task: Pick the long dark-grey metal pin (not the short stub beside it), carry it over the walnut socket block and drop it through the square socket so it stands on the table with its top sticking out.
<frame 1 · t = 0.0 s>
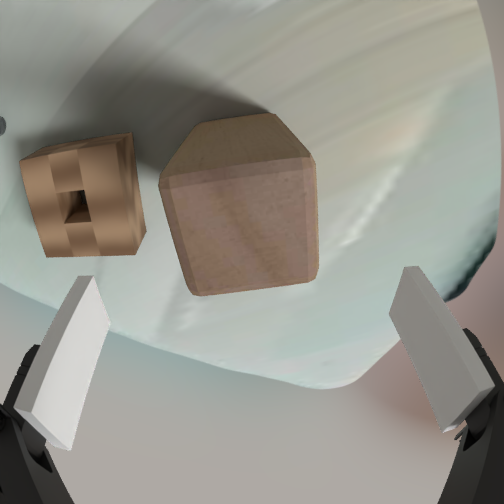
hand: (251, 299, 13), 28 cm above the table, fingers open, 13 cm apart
socket block: (92, 188, 38), on the table
wooden block: (240, 154, 37), on the table
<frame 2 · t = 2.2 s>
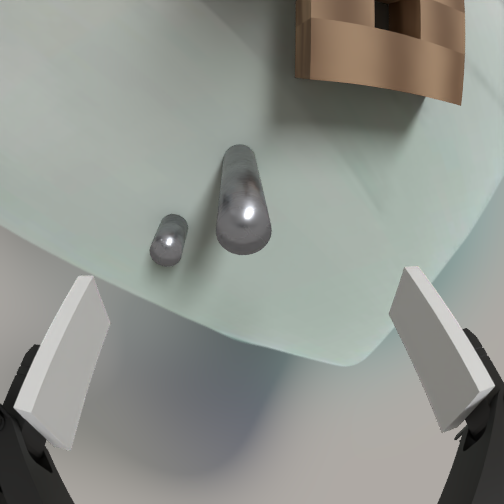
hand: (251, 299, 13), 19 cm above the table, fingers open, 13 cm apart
long pin: (239, 159, 29), on the table
socket block: (368, 18, 21), on the table
short pin: (173, 227, 32), on the table
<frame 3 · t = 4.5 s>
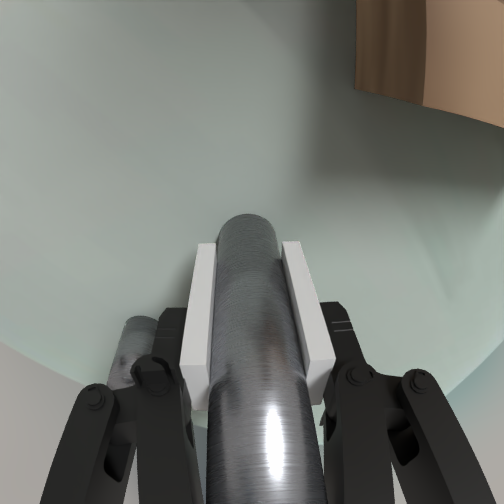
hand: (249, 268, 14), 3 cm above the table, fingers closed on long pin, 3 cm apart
long pin: (247, 239, 17), on the table, touching gripper
short pin: (145, 331, 20), on the table
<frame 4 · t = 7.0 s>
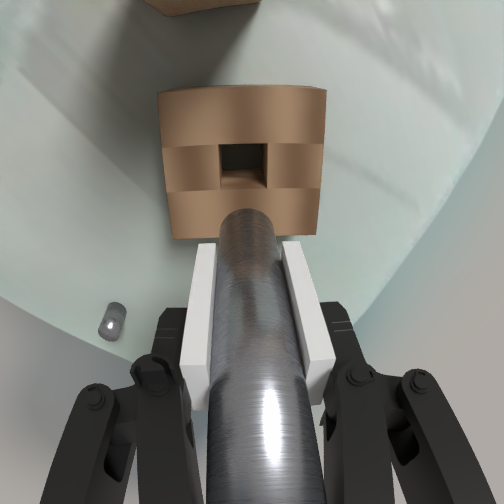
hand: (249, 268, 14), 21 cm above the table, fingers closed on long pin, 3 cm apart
long pin: (246, 233, 17), point 17 cm above the table, touching gripper
socket block: (241, 150, 32), on the table
short pin: (117, 309, 43), on the table
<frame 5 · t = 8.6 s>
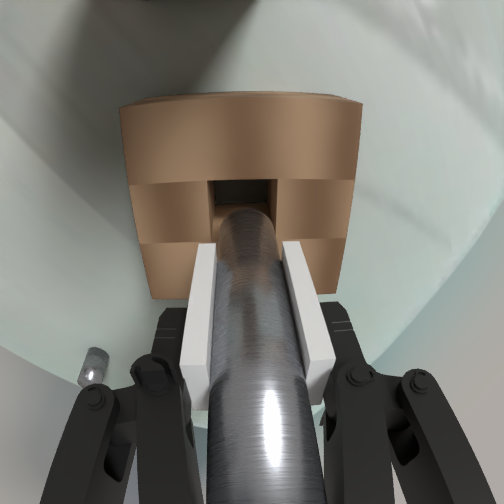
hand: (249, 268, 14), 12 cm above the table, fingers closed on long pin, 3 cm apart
long pin: (246, 233, 17), point 9 cm above the table, touching gripper
socket block: (240, 179, 24), on the table
short pin: (98, 354, 36), on the table
when the fingers open (7 cm above the table, at t = 9.7 s): long pin drops 3 cm, resting in socket block.
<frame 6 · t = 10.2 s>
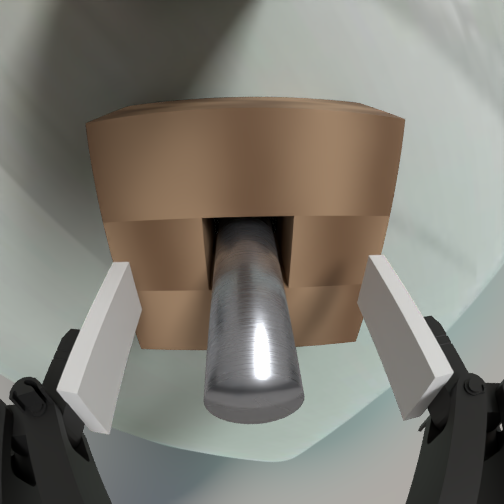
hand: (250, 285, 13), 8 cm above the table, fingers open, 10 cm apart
long pin: (243, 205, 20), resting in socket block
socket block: (244, 204, 20), on the table
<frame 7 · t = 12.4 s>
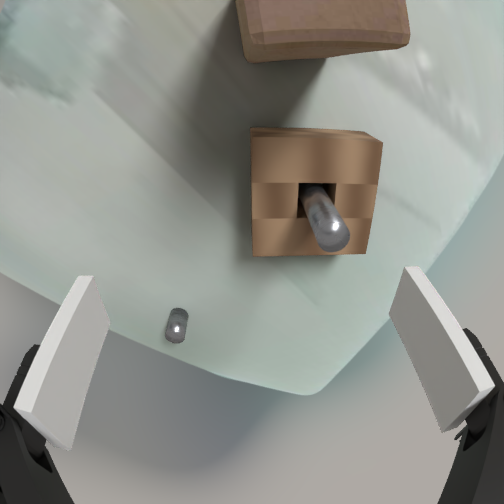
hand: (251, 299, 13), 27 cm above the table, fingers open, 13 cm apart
long pin: (306, 182, 39), resting in socket block
socket block: (306, 182, 39), on the table
wooden block: (283, 21, 28), on the table
short pin: (179, 314, 50), on the table
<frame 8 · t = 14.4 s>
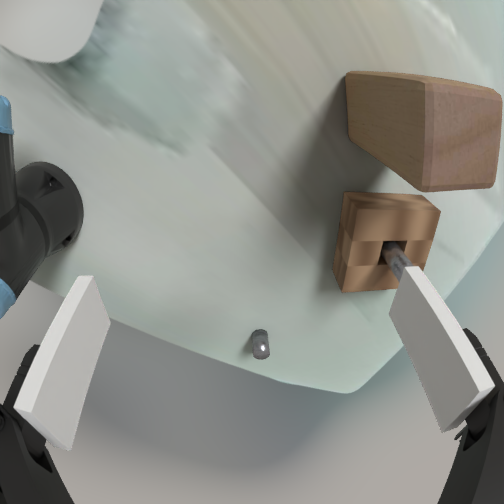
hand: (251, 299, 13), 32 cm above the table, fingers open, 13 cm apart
long pin: (377, 233, 48), resting in socket block
socket block: (377, 232, 48), on the table
wooden block: (377, 105, 37), on the table
short pin: (259, 334, 59), on the table
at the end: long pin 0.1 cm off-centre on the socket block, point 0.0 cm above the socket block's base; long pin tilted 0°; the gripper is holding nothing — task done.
